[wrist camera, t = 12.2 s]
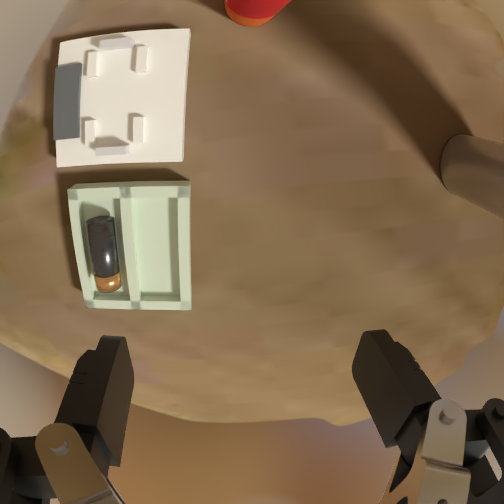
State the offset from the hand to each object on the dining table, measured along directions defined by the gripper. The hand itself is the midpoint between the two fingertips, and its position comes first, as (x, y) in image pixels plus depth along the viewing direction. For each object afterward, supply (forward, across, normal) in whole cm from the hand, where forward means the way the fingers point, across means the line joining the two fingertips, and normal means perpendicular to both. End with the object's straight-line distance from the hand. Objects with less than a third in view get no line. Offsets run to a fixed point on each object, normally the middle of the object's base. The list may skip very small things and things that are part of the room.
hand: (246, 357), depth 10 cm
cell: (+25, +14, +8) cm, 30 cm away
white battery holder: (+27, +11, -10) cm, 30 cm away
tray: (+27, +10, +8) cm, 30 cm away
